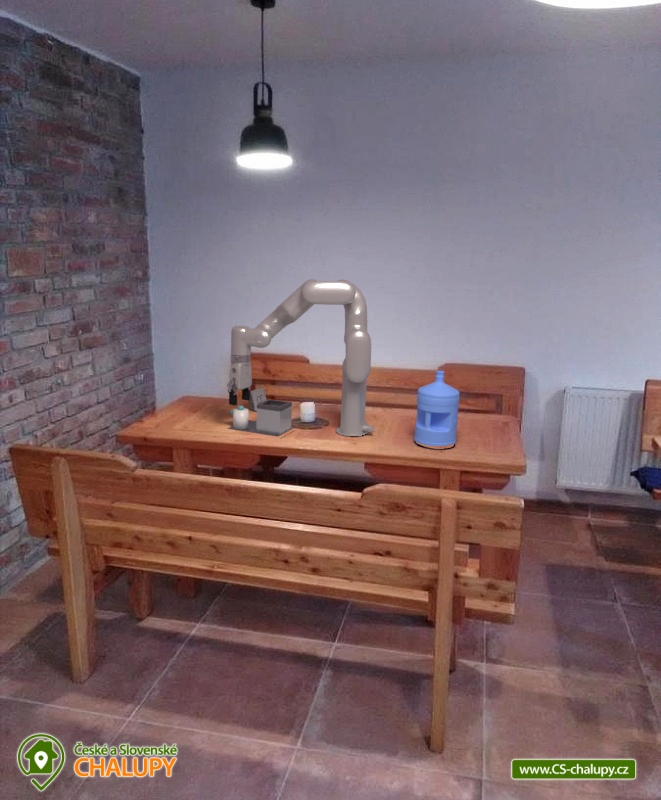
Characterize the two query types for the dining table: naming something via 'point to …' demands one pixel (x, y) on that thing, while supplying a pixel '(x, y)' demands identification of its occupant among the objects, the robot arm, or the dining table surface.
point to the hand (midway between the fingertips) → (239, 402)
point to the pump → (240, 417)
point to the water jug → (437, 413)
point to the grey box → (271, 418)
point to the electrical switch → (256, 398)
